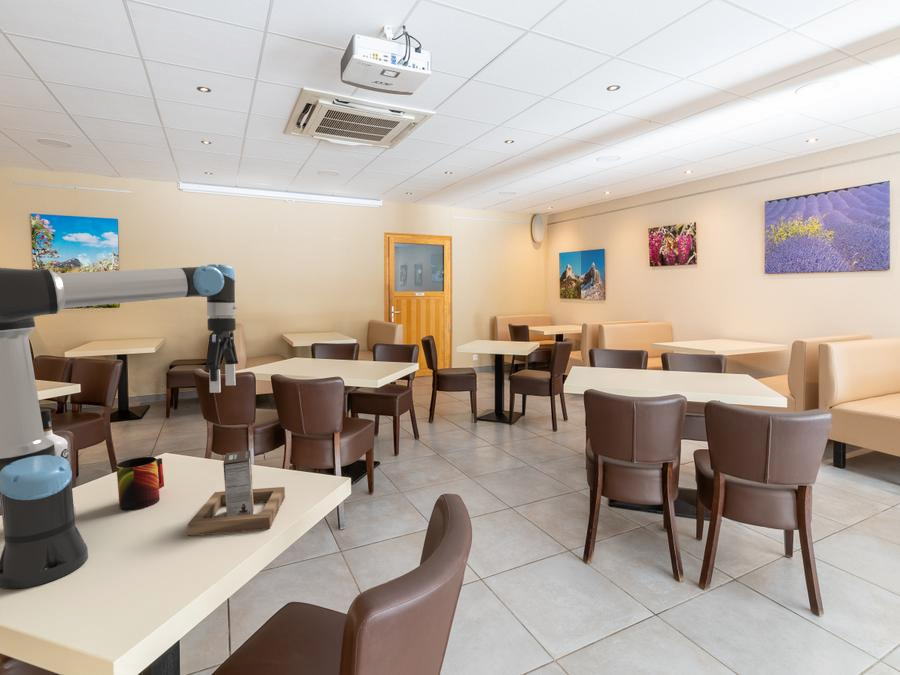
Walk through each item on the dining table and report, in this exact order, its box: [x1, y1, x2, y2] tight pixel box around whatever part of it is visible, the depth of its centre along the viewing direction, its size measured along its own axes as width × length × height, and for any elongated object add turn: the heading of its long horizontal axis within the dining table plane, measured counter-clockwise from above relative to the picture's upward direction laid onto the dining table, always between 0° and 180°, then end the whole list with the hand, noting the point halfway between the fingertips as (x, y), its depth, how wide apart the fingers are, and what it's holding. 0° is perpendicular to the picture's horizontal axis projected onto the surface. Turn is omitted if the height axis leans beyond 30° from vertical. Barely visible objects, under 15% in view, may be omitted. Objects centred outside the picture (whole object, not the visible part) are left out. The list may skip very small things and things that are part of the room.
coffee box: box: [222, 449, 255, 516], centre depth 129 cm, size 9×6×16 cm
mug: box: [115, 456, 165, 512], centre depth 141 cm, size 10×14×12 cm
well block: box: [187, 486, 286, 536], centre depth 130 cm, size 20×19×3 cm
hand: (223, 388), depth 146 cm, fingers open, 13 cm apart
